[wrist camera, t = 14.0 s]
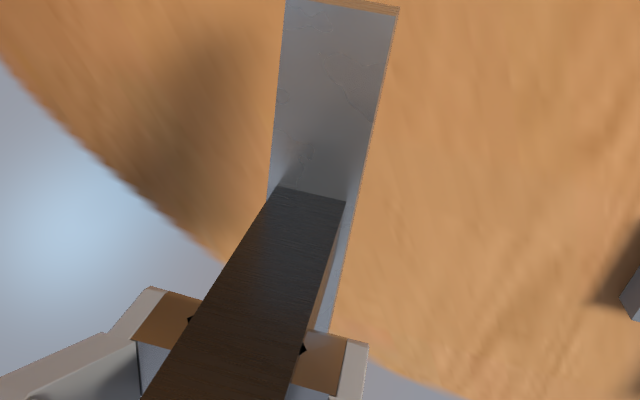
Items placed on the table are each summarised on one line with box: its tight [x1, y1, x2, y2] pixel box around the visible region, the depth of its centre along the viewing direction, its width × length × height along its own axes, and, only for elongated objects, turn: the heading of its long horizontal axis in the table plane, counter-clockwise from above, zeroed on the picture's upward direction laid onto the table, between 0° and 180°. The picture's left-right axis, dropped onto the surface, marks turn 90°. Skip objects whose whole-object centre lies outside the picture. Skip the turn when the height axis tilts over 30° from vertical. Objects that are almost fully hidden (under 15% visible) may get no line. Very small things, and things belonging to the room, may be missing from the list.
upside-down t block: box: [140, 0, 400, 400], centre depth 13 cm, size 14×3×12 cm, turn 172°
